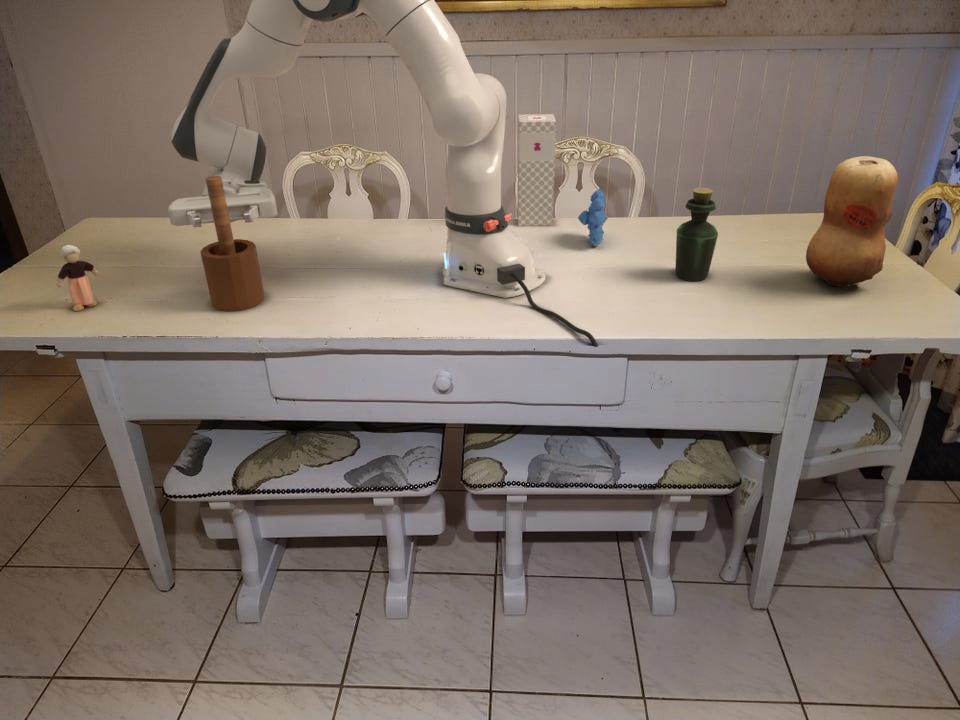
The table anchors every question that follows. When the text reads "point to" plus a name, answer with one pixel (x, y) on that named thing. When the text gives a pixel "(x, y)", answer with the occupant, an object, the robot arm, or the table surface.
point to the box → (536, 169)
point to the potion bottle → (696, 238)
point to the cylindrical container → (233, 276)
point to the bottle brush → (220, 215)
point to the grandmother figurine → (77, 277)
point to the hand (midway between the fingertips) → (222, 220)
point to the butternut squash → (854, 222)
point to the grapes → (595, 218)
